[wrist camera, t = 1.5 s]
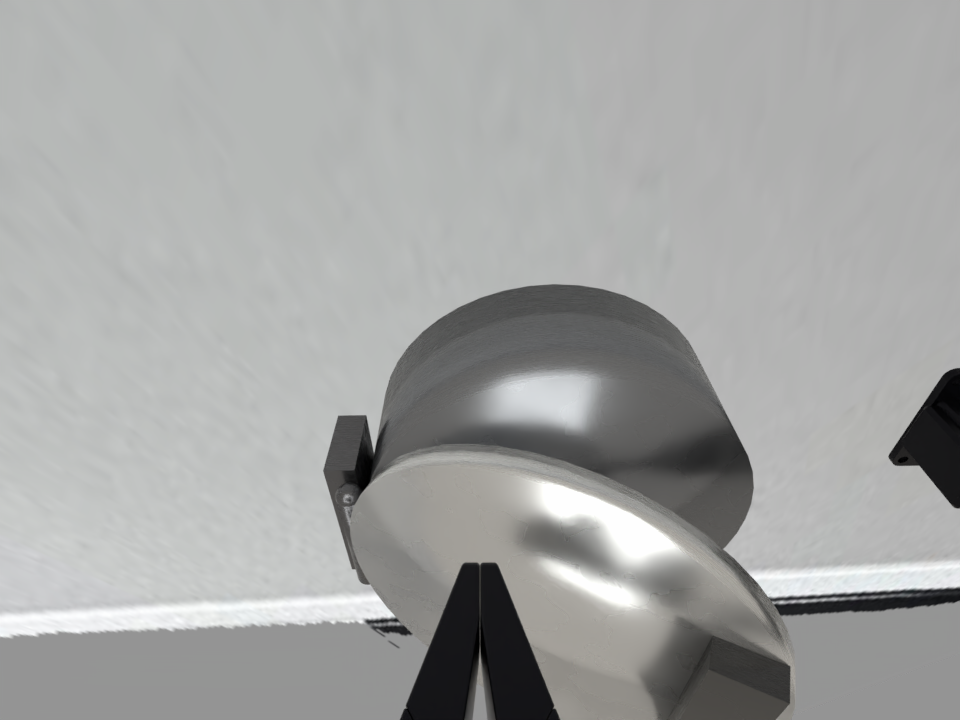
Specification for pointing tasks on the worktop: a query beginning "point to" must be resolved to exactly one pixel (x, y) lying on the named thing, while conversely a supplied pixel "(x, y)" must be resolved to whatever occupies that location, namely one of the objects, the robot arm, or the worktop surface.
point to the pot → (562, 401)
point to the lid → (576, 582)
